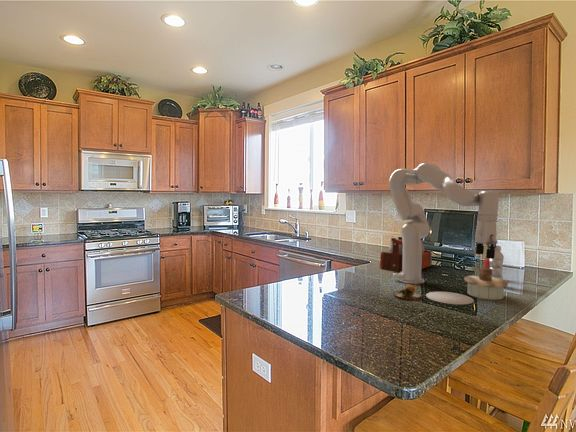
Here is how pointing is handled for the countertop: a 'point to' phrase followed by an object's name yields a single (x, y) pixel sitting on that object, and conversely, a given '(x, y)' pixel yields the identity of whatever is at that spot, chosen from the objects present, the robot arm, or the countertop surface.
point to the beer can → (486, 263)
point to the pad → (449, 298)
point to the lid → (486, 279)
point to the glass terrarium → (408, 293)
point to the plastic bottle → (497, 263)
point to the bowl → (485, 292)
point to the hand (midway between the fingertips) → (484, 256)
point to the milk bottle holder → (401, 256)
